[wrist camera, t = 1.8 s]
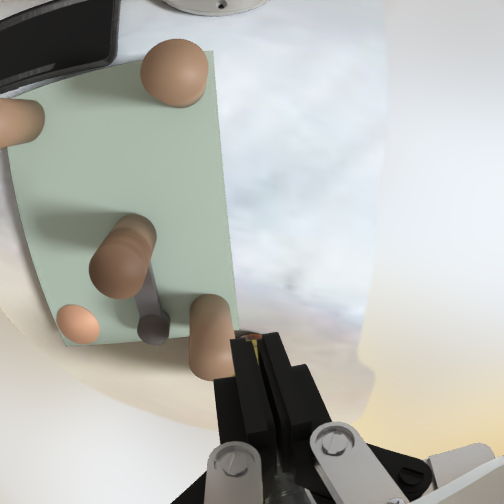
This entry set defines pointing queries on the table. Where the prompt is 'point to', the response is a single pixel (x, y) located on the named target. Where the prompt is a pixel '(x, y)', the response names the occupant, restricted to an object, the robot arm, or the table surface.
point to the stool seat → (129, 196)
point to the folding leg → (132, 274)
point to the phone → (57, 40)
